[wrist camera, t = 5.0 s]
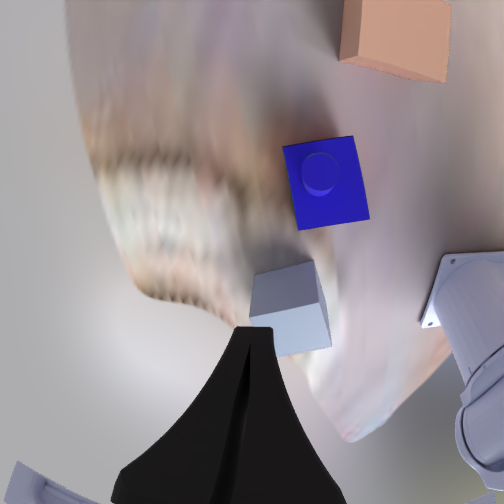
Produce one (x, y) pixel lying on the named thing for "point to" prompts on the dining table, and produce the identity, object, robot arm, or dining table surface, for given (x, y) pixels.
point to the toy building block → (326, 182)
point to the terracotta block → (398, 37)
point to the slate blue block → (291, 308)
